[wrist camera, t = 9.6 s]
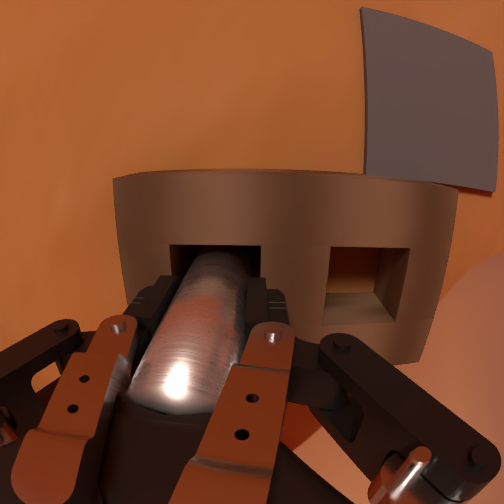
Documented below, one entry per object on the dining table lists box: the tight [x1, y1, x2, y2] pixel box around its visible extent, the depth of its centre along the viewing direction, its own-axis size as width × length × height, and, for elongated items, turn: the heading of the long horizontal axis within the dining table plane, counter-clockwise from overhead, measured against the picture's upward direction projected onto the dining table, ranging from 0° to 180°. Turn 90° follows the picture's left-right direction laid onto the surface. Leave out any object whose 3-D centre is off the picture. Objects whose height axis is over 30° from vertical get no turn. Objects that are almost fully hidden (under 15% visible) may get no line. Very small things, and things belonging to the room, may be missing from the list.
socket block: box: [113, 169, 459, 365], centre depth 15 cm, size 16×10×4 cm, turn 89°
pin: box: [121, 245, 251, 416], centre depth 11 cm, size 3×3×10 cm
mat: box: [360, 7, 498, 192], centre depth 13 cm, size 10×10×1 cm
